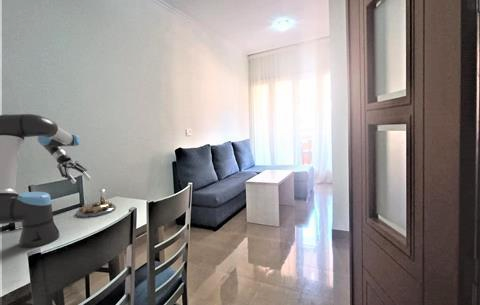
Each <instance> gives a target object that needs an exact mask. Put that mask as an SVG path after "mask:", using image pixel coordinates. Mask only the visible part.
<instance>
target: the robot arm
mask: <svg viewBox="0 0 480 305" xmlns="http://www.w3.org/2000/svg"><path fill="white" fill-rule="evenodd" d="M32 137H37V142H38V143H39V144H40V146H42V147H43V148H44V149H45V150H46V151H47V152H48V153H49V154H50V155H51V156H52V158H54V160H55V161H56V163H58V164H57V165H56V168H58V170H59V173H60V175H61V177H62V178H65V179H67V180H68V181H70V182H71V183H72V184H73V185H75V184H76V183H77V180H76V179H75V178H74V177H73V176H72V175H71V174H69V173H70V172H69V169H74V170H76V171H78V172H80V173H81V175H82V176H83V177H84V179H86V180H87V181H90V179H91V176H90V175H89V174H88V169H87V167H85V166H84V165H82V164H81V163H80V162H79V161H78V160H75V161H73V160H72V158H71V157H70V156H69V154H68V153H67V152H66V151H65V149H63V147H76V146H77V147H78V146H79V145H81V138H80V135H78V134H71V133H69V132H67V131H66V130H65V129H63V128H61V127H60V126H58V124H57V123H56V122H55V121H53V120H52V119H49V118H47V117H45V116H42V115H38V114H34V113H25V114H24V113H22V114H21V113H16V114H15V113H14V114H13V113H12V114H11V113H10V114H9V113H8V114H7V113H4V114H0V225H5V224H14V223H21V226H22V227H21V228H22V229H21V232H20V237H19V240H18V242H19V243H18V244H19V247H20V248H23V249H31V248H36V247H40V246H44V245H48V244H50V243H52V242H54V241H56V240H58V239H59V238H60V230H59V228H58V227H57V225H56V223H55V222H54V215H53V213H54V212H53V206H52V204H53V202H52V199H51V195H50V193H48V192H45V191H29V192H27V191H26V192H21V193H18V192H17V191H16V186H17V175H18V168H19V166H18V165H19V157H20V155H19V154H20V148H21V145H22V144H23V143H25V138H32Z"/></svg>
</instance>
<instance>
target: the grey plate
mask: <svg viewBox="0 0 480 305" xmlns="http://www.w3.org/2000/svg"><path fill="white" fill-rule="evenodd" d="M116 208H117V206H116V204H114V203H112V207H109V209H108V210H103V211H99V212H98V213H94V212H93V213H86V214H82V212H79V209H78V210H77V211H76V212H75V215H76V217H77V218H82V219H83V218H84V219H86V218H87V219H88V218H96V217H101V216H104V215H107V214H110V213H112V212H114V211H116Z"/></svg>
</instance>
